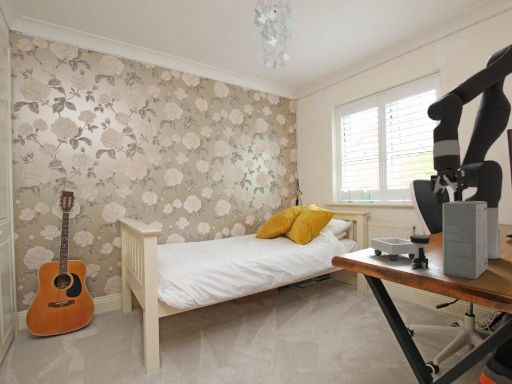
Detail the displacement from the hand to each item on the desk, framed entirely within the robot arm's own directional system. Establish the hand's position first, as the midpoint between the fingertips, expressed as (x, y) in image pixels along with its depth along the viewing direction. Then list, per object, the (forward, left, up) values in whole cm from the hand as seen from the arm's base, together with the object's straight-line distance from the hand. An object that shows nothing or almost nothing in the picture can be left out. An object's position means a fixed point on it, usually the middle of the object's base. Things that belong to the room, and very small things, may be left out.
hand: (448, 203), depth 93 cm
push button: (+17, +6, -19) cm, 26 cm away
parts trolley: (+15, -7, -19) cm, 25 cm away
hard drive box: (+7, +12, -19) cm, 23 cm away
